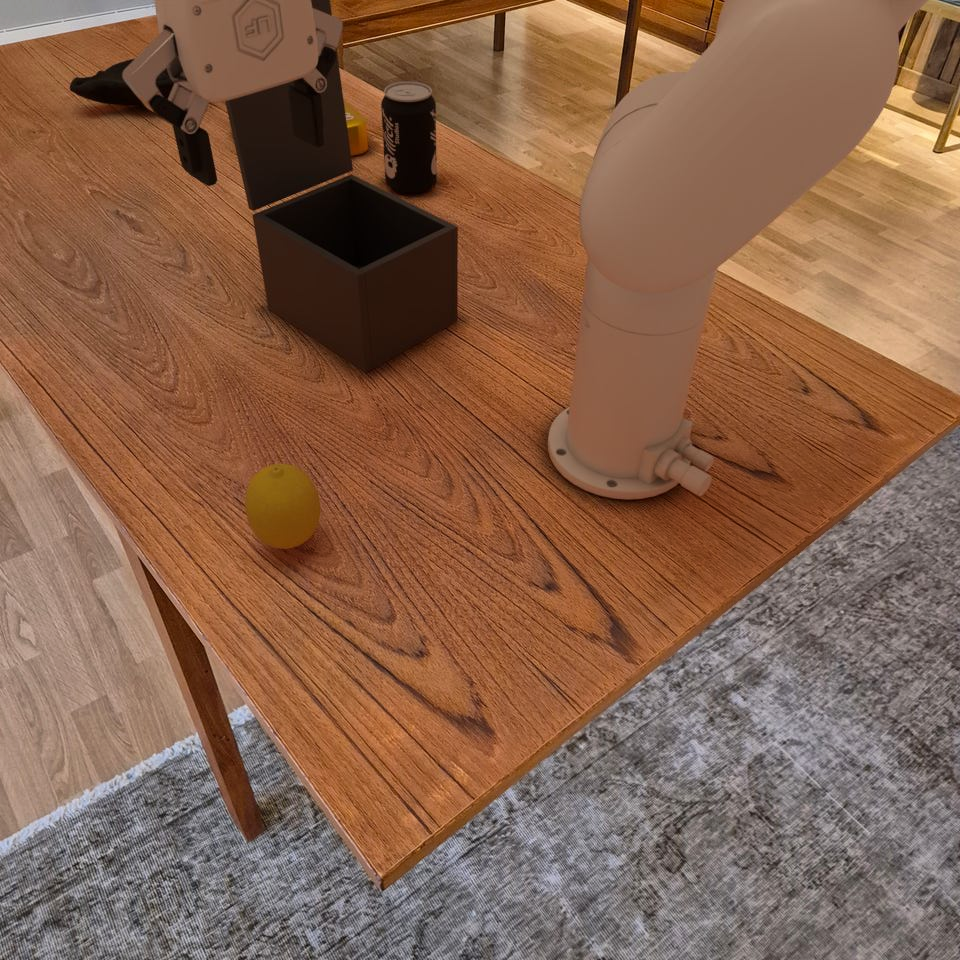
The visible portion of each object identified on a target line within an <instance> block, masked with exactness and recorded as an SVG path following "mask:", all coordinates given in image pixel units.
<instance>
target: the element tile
mask: <svg viewBox="0 0 960 960" xmlns="http://www.w3.org/2000/svg"><path fill="white" fill-rule="evenodd" d="M343 100H344V107H345V114H346V121H347V129H348V136H349V143H350V150H351V157H355V156H359V155H362V154H365V153H366V152H367V151H368V149H369V140H368V127H367V126H368V124H367V117H366V116H364V114H362V113H361V112H360V111H359V110H358V109H356V108H355V107H354V106H353V105H352V104H351V103H350V102H348V101H347V100H346V99H345V98H344V97H343Z"/></svg>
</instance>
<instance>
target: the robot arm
mask: <svg viewBox="0 0 960 960" xmlns="http://www.w3.org/2000/svg"><path fill="white" fill-rule="evenodd" d="M928 1H929V0H724V2H723V5H722V7H721V11H720V13H719V15H718V20H717V24H716V30H715V35H714V39H713V40H712V42H711V43H710V44H709V46H708V47H707V48H706V49H705V50H704V52H702V54H701V55H700V56H699V57H698V59H696V61H695V62H694V63H693V64H692V65H691V67H689V68H688V70H686V71H669V72H664V73H660V74H659V73H658V74H657V75H654V76H651V77H649V78H647V79H645V80H643V81H642V82H640V83H639V84H637V85H636V86H634V87H633V88H632V89H631V90H629V92H628V93H627V94H625V96H623V98H621V100H620V101H619V102H618V104H617V105H616V106H615V108H614V110H613V111H612V113H611V114H610V116H609V118H608V120H607V122H606V124H605V126H604V128H603V131H602V133H601V137H600V138H599V142H598V145H597V148H596V150H595V153H594V156H593V160H592V163H591V165H590V168H589V171H588V174H587V177H586V179H585V183H584V186H583V188H582V192H581V196H580V201H579V206H578V207H579V210H578V227H579V235H580V239H581V242H582V246H583V249H584V252H585V253H586V256H587V258H586V266H585V275H584V282H583V291H582V296H581V305H580V314H579V323H578V331H577V339H576V348H575V357H574V366H573V374H572V382H571V391H570V399H569V406H568V407H566V408H565V409H564V410H562V411H561V412H560V413H559V414H558V415H557V416H556V417H555V418H554V419H553V421H552V423H551V425H550V428H549V431H548V435H547V436H548V437H547V452H548V455H549V459H550V460H551V462H552V464H553V466H554V467H555V469H556V470H557V471H558V472H559V474H560V475H562V477H564V478H565V479H566V480H567V481H569V482H570V483H572V485H574V486H576V487H578V488H580V489H582V490H584V491H586V492H588V493H591V494H594V495H596V496H601V497H605V498H608V499H614V500H615V499H617V500H626V501H627V500H641V499H647V498H651V497H656V496H659V495H661V494H664V493H667V492H668V491H670V490H671V489H673V488H675V487H676V486H678V485H679V484H680V487H682V488H683V489H686V490H687V491H689V492H691V493H692V494H693V495H696V496H698V497H702V496H703V495H704V494H705V493H706V492H707V491H708V489H709V488H710V486H711V484H712V482H713V476H712V475H710V474H708V473H707V472H708V471H709V470H710V469H711V468H712V466H713V464H714V462H715V457H714V456H713V455H711V454H709V453H708V452H706V451H704V450H703V449H699V448H697V447H695V446H694V445H693V441H692V440H691V438H690V437H691V433H692V430H693V425H694V423H693V422H691V421H689V420H688V419H686V418H684V412H685V409H686V405H687V400H688V396H689V391H690V387H691V383H692V379H693V375H694V371H695V366H696V362H697V357H698V353H699V350H700V345H701V341H702V336H703V332H704V328H705V323H706V319H707V315H708V312H709V309H710V302H711V299H712V295H713V291H714V288H715V283H716V278H717V273H718V269H719V267H721V266H722V265H724V264H725V263H726V262H727V261H728V260H730V259H731V258H732V257H733V256H734V255H735V254H737V253H738V252H739V251H740V250H742V249H743V248H744V247H745V246H746V245H747V244H749V243H750V242H751V241H752V240H753V239H755V237H757V236H758V235H759V234H761V232H763V231H764V230H765V229H766V228H767V227H769V225H771V224H772V223H773V222H774V221H775V220H777V219H778V218H779V217H780V216H781V215H782V214H784V213H785V212H786V211H787V210H788V209H789V208H790V207H792V206H793V205H794V204H795V203H796V202H797V201H799V200H800V199H801V198H802V197H803V196H804V195H806V194H807V193H808V192H809V191H810V190H811V189H813V187H814V186H816V185H817V184H818V183H819V182H821V180H823V179H824V178H825V177H826V176H828V174H830V173H831V172H832V171H833V170H834V169H835V168H837V166H838V165H840V164H841V163H842V162H843V161H844V160H845V159H846V158H847V157H848V156H849V155H850V154H851V153H852V152H853V151H854V150H855V148H857V146H858V145H859V144H860V143H861V142H862V140H863V139H864V138H865V137H866V135H867V134H868V133H869V132H870V130H871V129H872V128H873V126H874V125H875V123H876V122H877V120H878V118H879V117H880V116H881V114H882V112H883V110H885V109H884V108H885V107H886V104H887V102H888V101H889V98H890V96H891V94H892V90H893V88H894V86H895V82H896V78H897V74H898V68H899V59H900V39H899V31H901V29H902V28H903V27H904V26H905V25H906V23H908V22H909V21H910V20H911V19H912V17H914V16H915V14H916V13H917V12H918V11H920V9H921V8H922V7H923V6H924V5H926V4H927V2H928ZM154 7H155V8H154V9H155V13H156V14H155V15H156V21H157V28H158V33H159V34H158V35H157V36H156V37H155V38H154V39H153V40H152V41H151V42H150V43H149V44H148V45H147V46H146V47H145V48H144V49H143V50H142V51H141V52H140V53H139V54H138V55H137V56H136V57H135V58H133V59H134V60H133V61H132V62H131V63H130V64H129V65H128V66H127V67H126V68H125V69H124V71H123V74H122V77H123V79H124V81H125V82H126V84H127V85H128V86H129V87H130V88H131V90H132V91H133V92H134V93H135V95H136V96H137V97H138V98H139V99H140V100H141V101H142V104H143V105H144V106H145V107H144V108H145V109H146V110H148V111H150V112H151V113H153V114H155V115H156V116H157V117H159V118H161V119H163V121H165V122H167V123H169V124H170V125H172V130H173V134H174V138H175V143H176V147H177V152H178V156H179V161H180V163H181V167H182V169H183V170H184V171H185V172H186V173H187V174H188V175H189V176H191V177H193V178H194V179H196V180H197V181H199V182H200V183H202V184H204V185H206V186H207V187H212V186H215V185H216V184H217V182H218V176H217V170H216V165H215V161H214V156H213V150H212V145H211V140H210V135H209V132H208V131H207V130H205V129H204V128H202V127H201V126H200V125H201V123H202V121H203V118H204V116H205V114H206V112H207V110H208V107H209V105H210V103H223V102H225V101H228V100H232V99H235V98H239V97H242V96H246V95H249V94H252V93H256V92H259V91H262V90H265V89H269V88H272V87H275V86H279V85H282V84H285V83H288V82H291V81H294V83H293V84H290V85H289V89H288V95H289V102H290V110H291V118H292V126H293V133H294V135H295V137H297V138H299V139H301V140H303V141H305V142H307V143H309V144H310V145H312V146H314V147H317V148H318V147H321V146H323V145H324V135H323V127H324V121H323V112H322V102H321V93H322V92H324V91H325V89H326V87H327V81H326V77H327V76H328V74H329V72H330V70H331V68H332V66H333V65H334V63H335V61H336V52H335V49H338V46H339V42H340V39H341V35H342V33H343V29H344V23H343V21H342V20H341V19H340V18H338V17H336V16H334V15H332V16H331V15H329V14H326V13H324V12H322V11H319V10H317V9H314V8H312V3H311V0H154ZM316 33H317V34H316ZM166 68H167V70H168V73H169V76H170V78H171V80H172V81H173V82H174V86H173V88H172V90H171V93H170V95H169V97H168V99H166V98H165V97H164V96H163V95H162V94H161V92H160V90H159V89H158V88H157V86H156V79H157V77H158V76H159V75H160V74H161V73H162V72H163V71H164V70H165V69H166ZM691 464H692V465H691Z"/></svg>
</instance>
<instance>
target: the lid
mask: <svg viewBox="0 0 960 960" xmlns="http://www.w3.org/2000/svg"><path fill="white" fill-rule="evenodd" d="M311 3H312V8H314V9H317V10H319V11H322V12H324V13H326V14H329V15H331V16H333V13H332V7H331V6H332V5H331V0H311ZM316 34H317V33H316ZM335 52H336V61H335V63H334V65H333V66H332V68H331V70H330V72H329V74H328V76H327V77H326V81H327V87H326V89H325V91H324V92H322V93H321V102H322V112H323V121H324V127H323V135H324V145H323V146H321V147H318V148H317V147H314V146H312V145H310V144H309V143H307V142H305V141H303V140H301V139H299V138H297V137H295V135H294V133H293V126H292V118H291V110H290V102H289V95H288V89H289V85H290V84H293V83H294V81H291V82H288V83H285V84H282V85H279V86H275V87H272V88H269V89H265V90H262V91H259V92H256V93H252V94H249V95H246V96H242V97H239V98H235V99H232V100H228V101H224V103H225V108H226V112H227V116H228V121H229V125H230V130H231V134H232V138H233V143H234V147H235V151H236V158H237V162H238V166H239V169H240V170H239V171H240V174H241V179H242V184H243V188H244V193H245V197H246V202H247V206H248V209H249V210H251V211H253V212H255V211H257V210H259V209H262V208H265V207H267V206H269V205H272V204H274V203H277V202H280V201H282V200H284V199H287V198H289V197H292V196H294V195H297V194H299V193H301V192H303V191H307V190H309V189H311V188H313V187H316V186H318V185H321V184H323V183H324V184H325V183H326V182H329V181H330V180H333V179H336V178H338V177H340V176H343V175H346V174H348V173H350V172H353V171H354V165H353V158H352V156H351V150H350V143H349V136H348V129H347V121H346V114H345V107H344V100H343V98H344V93H343V87H342V86H343V85H342V79H341V71H340V64H339V57H338V48H336V49H335Z"/></svg>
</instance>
